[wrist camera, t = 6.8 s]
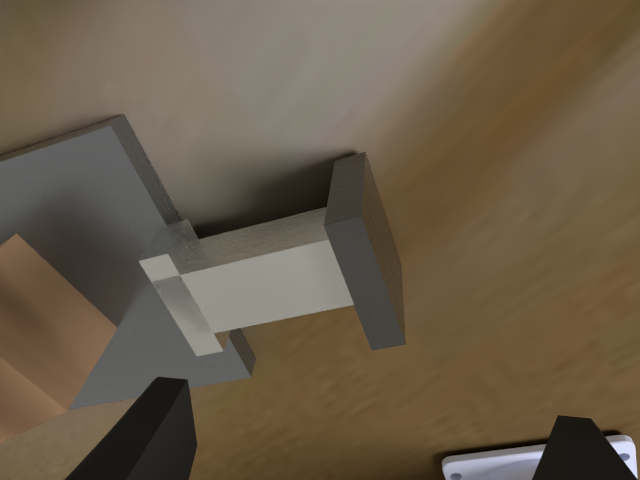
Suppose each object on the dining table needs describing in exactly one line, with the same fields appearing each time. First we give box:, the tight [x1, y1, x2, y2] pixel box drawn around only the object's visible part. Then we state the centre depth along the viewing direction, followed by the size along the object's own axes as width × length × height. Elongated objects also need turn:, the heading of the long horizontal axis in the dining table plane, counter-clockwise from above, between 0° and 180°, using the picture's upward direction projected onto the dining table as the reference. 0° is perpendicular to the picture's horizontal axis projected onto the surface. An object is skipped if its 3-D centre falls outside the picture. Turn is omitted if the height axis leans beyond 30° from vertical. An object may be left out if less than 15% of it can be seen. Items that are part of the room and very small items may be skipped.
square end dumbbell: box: [139, 152, 405, 356], centre depth 17 cm, size 4×7×4 cm, turn 109°
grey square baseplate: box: [0, 114, 256, 410], centre depth 21 cm, size 11×12×1 cm
